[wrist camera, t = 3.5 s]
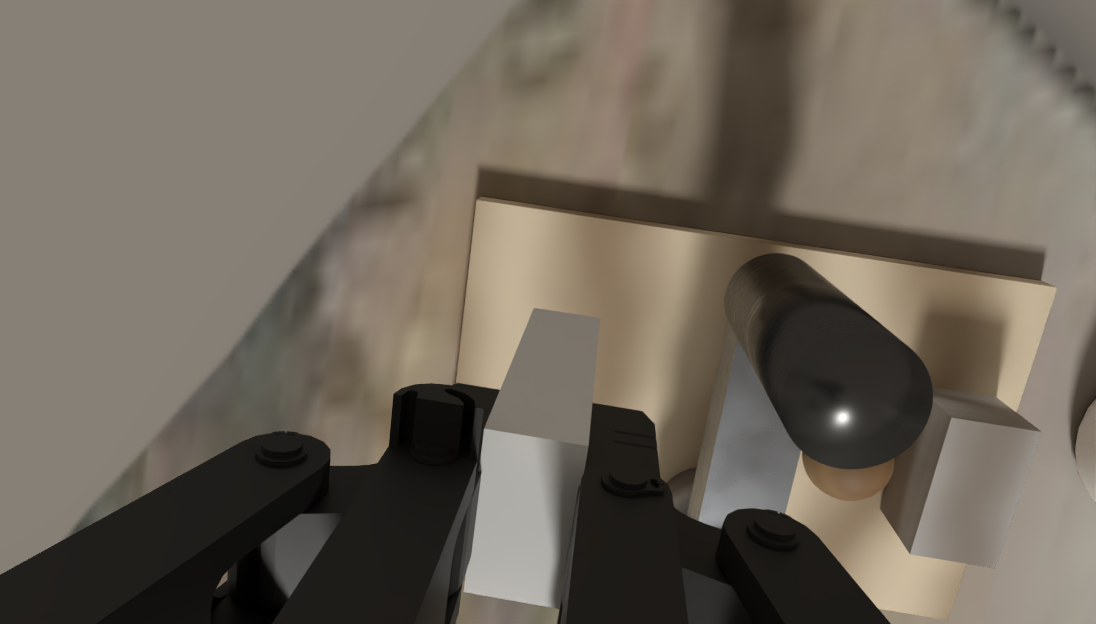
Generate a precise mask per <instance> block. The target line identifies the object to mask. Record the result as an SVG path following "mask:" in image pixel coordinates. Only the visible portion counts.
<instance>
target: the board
mask: <svg viewBox="0 0 1096 624" xmlns="http://www.w3.org/2000/svg"><path fill="white" fill-rule="evenodd" d="M770 253H783V254H788V255H792V256H795V257H797V258H799V259H801V260H803V261H804V262H806V263H807V264H809V265H810V266H811V267H812V268H813V269H815V270H816V271H817V272H818V273H820V274H821V275H822V276H823V277H824V278H826V279H827V280H828V281H829V282H831V283H832V284H833V285H834V286H835V287H837V288H838V289H839V290H840V291H841V292H843V293H844V294H845V295H846V296H848V297H849V298H850V299H851V300H852V301H854V302H855V303H856V304H857V305H859V306H860V307H861V308H862V309H863V310H865V311H866V312H867V313H868V314H870V315H871V316H872V317H873V318H874V319H876V320H877V321H878V322H879V323H881V324H882V325H883V326H884V327H885V328H887V329H888V330H889V331H890V332H892V333H893V334H894V335H895V336H896V337H898V338H899V339H900V340H901V341H902V342H904V343H905V344H906V345H907V346H909V347H910V348H911V349H912V350H913V351H914V352H915V353H916V354H917V355H918V356H919V357H920V359H921V360H922V361H923V363H924V365H925V366H926V368H927V370H928V373H929V375H930V378H931V382H932V387H933V405H932V409H931V414H930V417H929V419H928V422H927V424H926V426H925V428H924V430H923V431H922V433H921V434H920V436H919V437H918V438H917V440H916V441H915V442H914V443H913V444H912V445H911V446H910V447H909V448H908V449H906V450H905V451H904V452H903V453H901V454H900V455H898V456H897V457H895V466H894V471H893V473H892V476H891V478H890V480H889V482H888V483H887V485H886V486H885V487H884V488H883V489H882V490H881V491H880V492H878V493H877V494H875V495H873V496H871V497H869V498H867V499H863V500H858V501H845V500H840V499H836V498H833V497H831V496H829V495H827V494H825V493H824V492H822V491H821V490H820V489H818V488H817V487H816V486H815V485H814V484H813V482H812V481H811V480H810V478H809V477H808V475H807V473H806V471H805V468H804V465H803V461H802V451H801V453H800V457H799V461H798V465H797V469H796V473H795V477H794V481H793V485H792V489H791V493H790V497H789V501H788V505H787V509H786V513H785V514H786V515H789V516H790V517H792V518H793V519H794V520H796V521H798V522H800V523H802V524H804V525H805V526H807V527H808V528H809V529H810V530H811V531H812V532H814V533H815V534H816V535H817V536H818V537H819V538H820V539H821V541H822V542H823V543H824V544H825V545H826V547H827V548H828V549H829V550H830V551H831V553H832V554H833V555H834V556H835V557H836V559H837V560H838V561H839V562H840V563H841V565H842V566H843V567H844V568H845V569H846V571H847V572H848V573H849V574H850V575H851V577H852V578H853V579H854V580H855V582H856V583H857V584H858V585H859V586H860V588H861V589H862V590H863V591H864V592H865V594H866V595H867V596H868V597H869V598H870V600H871V601H872V602H873V603H874V604H875V606H876V607H877V608H878V609H884V610H890V611H896V612H902V613H908V614H914V615H920V616H926V617H932V618H937V619H943V620H948V619H949V616H950V613H951V610H952V607H953V604H954V601H955V598H956V595H957V592H958V589H959V586H960V583H961V580H962V577H963V574H964V571H965V568H966V564H971V565H977V566H983V567H989V568H996V565H997V562H998V559H999V556H1000V554H1001V551H1002V548H1003V545H1004V542H1005V539H1006V536H1007V533H1008V530H1009V527H1010V524H1011V521H1012V518H1013V515H1014V512H1015V510H1016V507H1017V504H1018V501H1019V498H1020V495H1021V492H1022V489H1023V486H1024V483H1025V480H1026V477H1027V474H1028V471H1029V468H1030V466H1031V463H1032V460H1033V457H1034V454H1035V451H1036V448H1037V445H1038V442H1039V439H1040V436H1041V433H1042V432H1041V431H1040V430H1039V429H1037V428H1036V427H1035V426H1033V425H1032V424H1031V423H1029V422H1028V421H1027V420H1026V419H1024V418H1023V417H1022V416H1020V415H1019V414H1018V413H1016V412H1017V409H1018V406H1019V403H1020V400H1021V397H1022V394H1023V391H1024V388H1025V385H1026V382H1027V379H1028V376H1029V373H1030V370H1031V367H1032V364H1033V361H1034V358H1035V354H1036V351H1037V348H1038V345H1039V342H1040V339H1041V336H1042V333H1043V330H1044V327H1045V324H1046V321H1047V318H1048V315H1049V312H1050V309H1051V306H1052V303H1053V300H1054V297H1055V294H1056V291H1057V288H1058V287H1055V286H1053V285H1050V284H1048V283H1045V282H1043V281H1039V280H1032V279H1026V278H1019V277H1012V276H1006V275H999V274H992V273H986V272H979V271H972V270H966V269H959V268H952V267H946V266H939V265H932V264H926V263H919V262H913V261H906V260H899V259H893V258H886V257H879V256H873V255H866V254H859V253H853V252H846V251H839V250H833V249H826V248H819V247H813V246H806V245H800V244H793V243H786V242H780V241H773V240H766V239H760V238H753V237H746V236H740V235H733V234H726V233H720V232H713V231H706V230H700V229H693V228H687V227H680V226H673V225H667V224H660V223H653V222H647V221H640V220H633V219H627V218H620V217H613V216H607V215H600V214H593V213H587V212H580V211H574V210H567V209H560V208H554V207H547V206H540V205H534V204H527V203H520V202H514V201H507V200H500V199H494V198H487V197H480V198H479V199H477V201H476V210H475V219H474V228H473V236H472V245H471V254H470V263H469V272H468V280H467V289H466V298H465V307H464V316H463V325H462V333H461V342H460V351H459V360H458V369H457V377H456V383H462V384H468V385H474V386H480V387H486V388H493V389H499V390H500V389H501V386H502V384H503V382H504V379H505V377H506V374H507V372H508V369H509V367H510V365H511V362H512V360H513V357H514V355H515V352H516V350H517V348H518V345H519V343H520V340H521V338H522V335H523V333H524V331H525V328H526V326H527V323H528V321H529V318H530V316H531V314H532V311H533V309H534V308H539V309H546V310H552V311H558V312H564V313H571V314H577V315H583V316H590V317H596V318H600V325H599V336H598V347H597V358H596V369H595V380H594V391H593V402H592V403H597V404H603V405H609V406H615V407H621V408H627V409H633V410H639V411H643V412H644V413H645V414H646V415H647V416H648V417H649V418H650V420H651V421H652V422H653V423H654V424H655V431H656V440H657V450H658V459H659V469H660V478H661V479H662V480H664V481H665V482H666V483H667V484H668V486H669V488H670V490H671V492H672V496H673V504H674V507H675V508H676V509H677V510H678V511H680V512H682V513H683V514H685V515H687V511H688V507H689V502H690V497H691V492H692V488H693V483H694V478H695V473H696V469H697V464H698V459H699V455H700V450H701V445H702V440H703V436H704V431H705V426H706V421H707V417H708V412H709V407H710V402H711V398H712V393H713V388H714V383H715V379H716V374H717V369H718V364H719V360H720V355H721V350H722V346H723V341H724V336H725V331H726V327H727V322H728V319H727V317H726V313H725V308H724V298H725V292H726V289H727V286H728V284H729V281H730V280H731V278H732V276H733V275H734V274H735V272H736V271H737V270H738V269H739V268H740V267H741V266H742V265H744V264H745V263H746V262H748V261H750V260H751V259H753V258H756V257H758V256H761V255H765V254H770Z"/></svg>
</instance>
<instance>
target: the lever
mask: <svg viewBox="0 0 1096 624" xmlns="http://www.w3.org/2000/svg"><path fill="white" fill-rule="evenodd" d="M724 308H725V313H726V317H727V319H728V322H727V327H726V331H725V336H724V341H723V346H722V350H721V355H720V360H719V364H718V369H717V374H716V379H715V383H714V388H713V393H712V398H711V402H710V407H709V412H708V417H707V421H706V426H705V431H704V436H703V440H702V445H701V450H700V455H699V459H698V464H697V469H696V473H695V478H694V483H693V488H692V492H691V497H690V502H689V507H688V511H687V516H689V517H690V518H693V519H695V520H698V521H700V522H702V523H705V524H708V525H711V526H714V527H716V528H719V529H722V526H723V522H724V520H725V518H726V516H727V514H729V513H731V512H733V511H735V510H737V509H747V508H756V509H763V510H765V509H770V510H774V511H778V513H780V512H781V513H784V514H785V513H786V509H787V505H788V501H789V497H790V493H791V489H792V485H793V481H794V477H795V473H796V469H797V465H798V461H799V457H800V453H801V451H802V452H803V453H804V454H806V455H807V456H809V457H810V458H812V459H813V460H815V461H817V462H819V463H821V464H824V465H827V466H830V467H835V468H840V469H863V468H869V467H873V466H877V465H880V464H883V463H885V462H888V461H889V460H891V459H893V458H895V457H897V456H898V455H900V454H901V453H903V452H904V451H905V450H906V449H908V448H909V447H910V446H911V445H912V444H913V443H914V442H915V441H916V440H917V438H918V437H919V436H920V434H921V433H922V431H923V430H924V428H925V426H926V424H927V422H928V419H929V417H930V414H931V409H932V405H933V387H932V382H931V378H930V375H929V373H928V370H927V368H926V366H925V365H924V363H923V361H922V360H921V359H920V357H919V356H918V355H917V354H916V353H915V352H914V351H913V350H912V349H911V348H910V347H909V346H907V345H906V344H905V343H904V342H902V341H901V340H900V339H899V338H898V337H896V336H895V335H894V334H893V333H892V332H890V331H889V330H888V329H887V328H885V327H884V326H883V325H882V324H881V323H879V322H878V321H877V320H876V319H874V318H873V317H872V316H871V315H870V314H868V313H867V312H866V311H865V310H863V309H862V308H861V307H860V306H859V305H857V304H856V303H855V302H854V301H852V300H851V299H850V298H849V297H848V296H846V295H845V294H844V293H843V292H841V291H840V290H839V289H838V288H837V287H835V286H834V285H833V284H832V283H831V282H829V281H828V280H827V279H826V278H824V277H823V276H822V275H821V274H820V273H818V272H817V271H816V270H815V269H813V268H812V267H811V266H810V265H809V264H807V263H806V262H804V261H803V260H801V259H799V258H797V257H795V256H792V255H788V254H783V253H770V254H765V255H761V256H758V257H756V258H753V259H751V260H750V261H748V262H746V263H745V264H744V265H742V266H741V267H740V268H739V269H738V270H737V271H736V272H735V274H734V275H733V276H732V278H731V280H730V281H729V284H728V286H727V289H726V292H725V298H724Z"/></svg>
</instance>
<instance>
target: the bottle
mask: <svg viewBox="0 0 1096 624" xmlns="http://www.w3.org/2000/svg"><path fill="white" fill-rule="evenodd" d="M1075 454H1076V461H1077V468H1078V474H1079V476H1080V478H1081V480H1082V482H1083V484H1084V486H1085V488H1086V490H1087V492H1088V493H1089V494H1090V496H1091V497H1092V498H1093V500H1094V501H1095V503H1096V399H1095V400H1094V401H1093V403H1092V404H1091V405H1090V406H1089V407H1088V409H1087V411H1086V413H1085V415H1084V417H1083V419H1082V421H1081V424H1080V426H1079V428H1078V434H1077V440H1076V446H1075Z"/></svg>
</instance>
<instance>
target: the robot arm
mask: <svg viewBox="0 0 1096 624" xmlns="http://www.w3.org/2000/svg"><path fill="white" fill-rule="evenodd" d="M599 325H600V318H596V317H590V316H583V315H577V314H571V313H564V312H558V311H552V310H546V309H539V308H534V309H533V311H532V314H531V316H530V318H529V321H528V323H527V326H526V328H525V331H524V333H523V335H522V338H521V340H520V343H519V345H518V348H517V350H516V352H515V355H514V357H513V360H512V362H511V365H510V367H509V369H508V372H507V374H506V377H505V379H504V382H503V384H502V386H501V389H500V390H499V389H493V388H486V387H480V386H474V385H468V384H462V383H456V384H454V385H452V386H451V385H443V384H432V383H430V384H416V385H412V386H408V387H404V388H401V389H400V390H399V391H397V392H396V393H394V395H393V407H392V418H391V429H390V441H389V447H388V448H387V450H386V451H385V453H384V454H383V456H382V457H381V459H380V460H379V462H378V463H376V464H371V465H361V466H330V449H329V447H328V446H327V445H326V444H325V443H324V442H323V441H321V440H318V439H316V438H314V437H312V436H308V435H303V434H299V433H297V432H289V431H287V433H285V431H279V432H273V433H270V434H264V435H258V436H255V437H252V438H250V439H247V440H245V441H242V442H240V443H239V444H237V445H235V446H233V447H231V448H229V449H228V450H226V451H224V452H222V453H220V454H219V455H217V456H215V457H213V458H211V459H209V460H208V461H206V462H204V463H202V464H200V465H199V466H197V467H195V468H193V469H191V470H190V471H188V472H186V473H184V474H182V475H180V476H179V477H177V478H175V479H173V480H171V481H170V482H168V483H166V484H164V485H162V486H160V487H159V488H157V489H155V490H153V491H151V492H150V493H148V494H146V495H144V496H142V497H141V498H139V499H137V500H135V501H133V502H131V503H130V504H128V505H126V506H124V507H122V508H121V509H119V510H117V511H115V512H113V513H111V514H110V515H108V516H106V517H104V518H102V519H101V520H99V521H97V522H95V523H93V524H92V525H90V526H88V527H86V528H84V529H82V530H81V531H79V532H77V533H75V534H73V535H72V536H70V537H68V538H66V539H64V540H62V541H61V542H59V543H57V544H55V545H54V546H52V547H50V548H48V549H46V550H44V551H43V552H41V553H39V554H37V555H36V556H33V557H32V558H30V559H28V560H27V561H24V562H23V563H21V564H19V565H17V566H15V567H14V568H12V569H10V570H8V571H6V572H4V573H3V574H1V575H0V624H455V623H456V619H457V616H458V613H459V605H460V597H461V589H462V583H463V580H464V576H465V573H466V578H465V585H464V592H467V593H473V594H478V595H484V596H490V597H495V598H501V599H507V600H512V601H518V602H523V603H529V604H535V605H540V606H546V607H552V608H557V609H559V615H558V621H557V624H890V622H889V621H888V620H887V619H886V618H885V616H884V615H883V614H882V613H881V612H880V610H879V609H878V608H877V607H876V606H875V604H874V603H873V602H872V601H871V600H870V598H869V597H868V596H867V595H866V594H865V592H864V591H863V590H862V589H861V588H860V586H859V585H858V584H857V583H856V582H855V580H854V579H853V578H852V577H851V575H850V574H849V573H848V572H847V571H846V569H845V568H844V567H843V566H842V565H841V563H840V562H839V561H838V560H837V559H836V557H835V556H834V555H833V554H832V553H831V551H830V550H829V549H828V548H827V547H826V545H825V544H824V543H823V542H822V541H821V539H820V538H819V537H818V536H817V535H816V534H815V533H814V532H812V531H811V530H810V529H809V528H808V527H807V526H805V525H804V524H802V523H800V522H798V521H796V520H794V519H793V518H792V517H790V516H789V515H786V514H784V513H781V512H780V513H778V511H774V510H770V509H765V510H763V509H756V508H747V509H737V510H735V511H733V512H731V513H729V514H727V516H726V518H725V520H724V522H723V526H722V529H719V528H716V527H714V526H711V525H708V524H705V523H702V522H700V521H698V520H695V519H693V518H690V517H689V516H687V515H685V514H683V513H682V512H680V511H678V510H677V509H676V508H675V507H674V504H673V496H672V492H671V490H670V488H669V486H668V484H667V483H666V482H665V481H664V480H662V479H661V478H660V469H659V459H658V450H657V440H656V431H655V424H654V423H653V422H652V421H651V420H650V418H649V417H648V416H647V415H646V414H645V413H644V412H643V411H639V410H633V409H627V408H621V407H615V406H609V405H603V404H597V403H592V402H593V391H594V380H595V369H596V358H597V347H598V336H599ZM227 571H228V579H227V581H226V582H225V583H223V584H222V585H221V586H219V587H218V588H217V586H218V584H219V582H220V580H221V578H222V576H223V575H224V574H225V573H226V572H227ZM216 588H217V589H216Z"/></svg>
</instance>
